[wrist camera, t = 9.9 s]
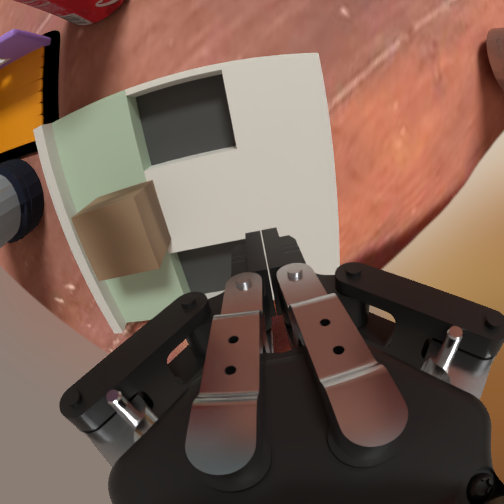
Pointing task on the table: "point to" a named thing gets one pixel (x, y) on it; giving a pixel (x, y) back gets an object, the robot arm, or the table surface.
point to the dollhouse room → (27, 89)
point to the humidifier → (19, 200)
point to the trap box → (202, 172)
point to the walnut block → (123, 232)
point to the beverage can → (76, 9)
